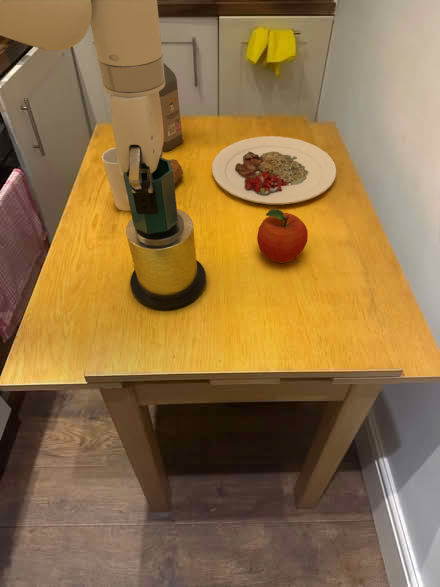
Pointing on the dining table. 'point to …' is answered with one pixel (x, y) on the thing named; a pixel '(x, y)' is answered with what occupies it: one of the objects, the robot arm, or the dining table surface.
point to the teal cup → (165, 199)
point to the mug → (115, 179)
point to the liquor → (170, 111)
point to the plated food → (274, 170)
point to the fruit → (281, 236)
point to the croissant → (176, 170)
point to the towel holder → (166, 266)
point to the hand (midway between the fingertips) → (152, 196)
